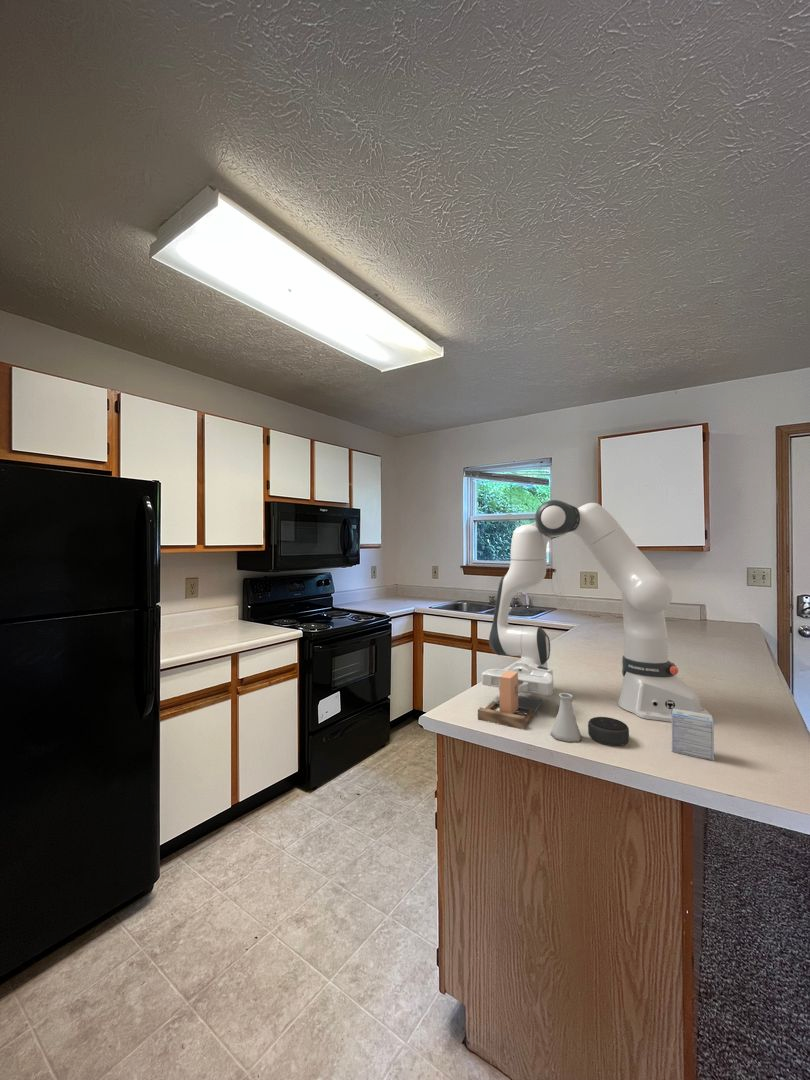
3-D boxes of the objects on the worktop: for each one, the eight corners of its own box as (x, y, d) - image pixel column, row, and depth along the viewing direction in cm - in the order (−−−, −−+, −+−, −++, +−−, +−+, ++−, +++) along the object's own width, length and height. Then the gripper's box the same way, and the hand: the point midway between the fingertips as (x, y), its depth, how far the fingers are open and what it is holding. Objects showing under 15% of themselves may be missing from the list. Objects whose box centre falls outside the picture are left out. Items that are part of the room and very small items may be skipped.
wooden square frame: (535, 713, 120) (535, 704, 120) (523, 729, 110) (523, 719, 110) (493, 705, 126) (493, 696, 126) (477, 719, 116) (477, 709, 116)
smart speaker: (602, 728, 111) (602, 713, 111) (636, 742, 103) (636, 725, 103) (580, 736, 106) (580, 720, 106) (615, 751, 99) (615, 733, 99)
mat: (542, 701, 130) (542, 700, 130) (535, 711, 122) (535, 709, 122) (506, 695, 135) (506, 693, 135) (497, 703, 128) (497, 702, 128)
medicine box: (713, 753, 97) (712, 714, 98) (714, 761, 94) (714, 721, 94) (671, 745, 102) (671, 707, 102) (671, 752, 98) (671, 713, 98)
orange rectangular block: (518, 708, 120) (518, 671, 121) (510, 716, 114) (510, 678, 115) (507, 706, 122) (507, 670, 122) (499, 714, 116) (499, 676, 116)
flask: (584, 744, 102) (584, 701, 102) (552, 741, 103) (552, 698, 103) (578, 731, 109) (578, 691, 109) (548, 729, 110) (548, 689, 110)
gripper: (489, 661, 136) (473, 671, 124) (557, 670, 125) (546, 682, 113) (490, 681, 136) (473, 694, 124) (558, 692, 125) (547, 707, 113)
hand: (509, 688), depth 118 cm, fingers closed on orange rectangular block, 3 cm apart
